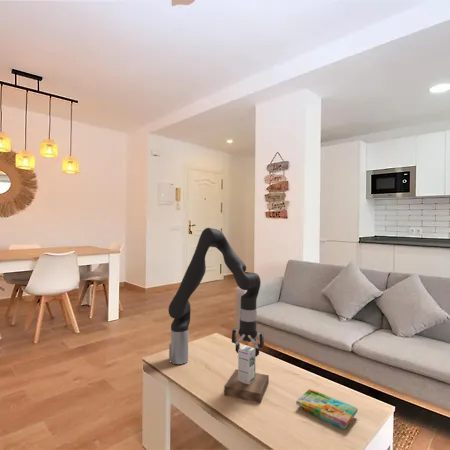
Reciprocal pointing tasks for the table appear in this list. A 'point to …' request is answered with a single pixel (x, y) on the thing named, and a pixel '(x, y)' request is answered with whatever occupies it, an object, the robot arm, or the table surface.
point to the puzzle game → (327, 408)
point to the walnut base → (247, 387)
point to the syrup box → (246, 364)
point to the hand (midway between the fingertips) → (247, 354)
